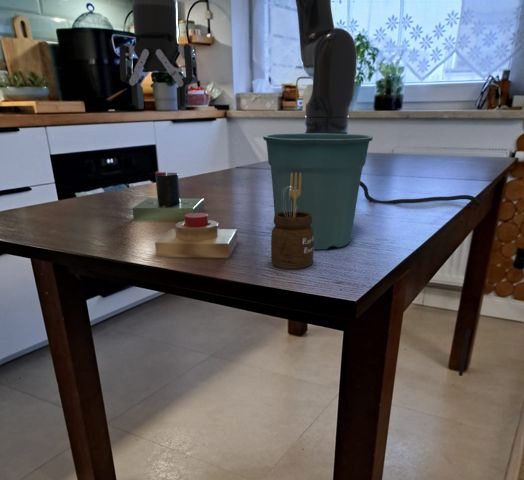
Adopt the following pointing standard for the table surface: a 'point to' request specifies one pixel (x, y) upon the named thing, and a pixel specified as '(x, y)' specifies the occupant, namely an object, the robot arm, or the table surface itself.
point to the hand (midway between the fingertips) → (160, 109)
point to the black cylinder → (167, 188)
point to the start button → (196, 220)
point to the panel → (166, 210)
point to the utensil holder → (292, 235)
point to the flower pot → (319, 179)
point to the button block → (197, 241)
